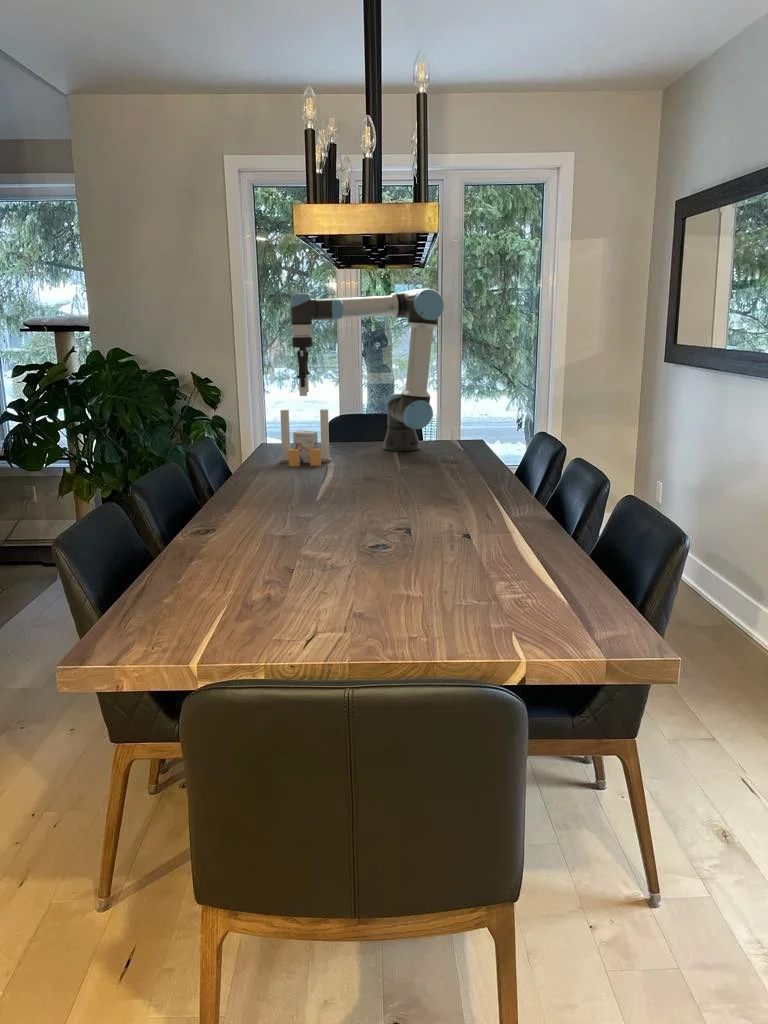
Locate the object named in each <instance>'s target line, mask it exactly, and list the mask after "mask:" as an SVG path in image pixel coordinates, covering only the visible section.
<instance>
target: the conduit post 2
mask: <svg viewBox="0 0 768 1024" xmlns="http://www.w3.org/2000/svg"><path fill="white" fill-rule="evenodd" d="M319 419H320V422H319V424H320V449H321V463H332V457H330V438H329V437H330V435H329V434H330V433H329V430H330V429H329V408H321V409H320V410H319Z"/></svg>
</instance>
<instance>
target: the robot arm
mask: <svg viewBox="0 0 768 1024" xmlns="http://www.w3.org/2000/svg"><path fill="white" fill-rule="evenodd" d="M444 305H445V303H444V299H443V297H442V295H441V294H440V293H439V292H438V291H437V290H435V289H432V288H426V287H425V288H424V287H423V288H419V289H418V288H415V289H410V290H406V291H401V292H392V293H391V294H390V295H383V296H364V297H363V296H362V297H360V296H359V297H340V298H339V297H337V298H316V299H315V298H312V296H311V293H307V292H306V293H303V292H301V293H299V292H298V293H292V294H291V295H290V306H289V307H290V314H291V315H290V318H291V326H290V328H289V330H290V331H291V336H293V337H292V338H291V342H292V348H294V349H295V348H298V349H299V350H298V352H296V354H297V355H296V356H297V363H298V375H297V376H296V379H298V386H299V397H307V396H308V393H309V392H310V391H309V390H310V389H309V375H311V372H310V371H309V367H308V362H309V352H308V349H307V348H312V347H313V337H312V336H313V322H312V321H316V320H319V321H320V320H325V321H326V320H329V321H331V320H341V319H345V318H347V319H348V318H349V319H350V318H366V317H383V316H385V317H386V316H391V318H393V319H396V318H397V319H398V318H399V319H400V318H401V319H407V324H408V326H409V327H410V339H409V347H408V360H407V370H406V380H405V381H406V382H405V389H404V390H403V391H402V392H401V393H393V394H389V395H388V396H387V402H386V404H387V431H386V434H385V438H384V441H383V449H384V450H385V451H392V452H410V451H417V450H419V449H420V441H419V437H418V434H417V431H416V430H421V429H424V428H426V427H427V426H428V425H429V424H430V423H431V422H432V419H433V416H434V410H433V408H432V406H431V404H430V403H431V394H430V393H429V392H428V386H429V385H428V383H429V375H430V374H429V373H430V363H431V354H432V344H433V343H432V342H433V334H434V329H435V328H436V327H438V322H439V317H440V316H441V315H443V311H444V307H445V306H444Z"/></svg>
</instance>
